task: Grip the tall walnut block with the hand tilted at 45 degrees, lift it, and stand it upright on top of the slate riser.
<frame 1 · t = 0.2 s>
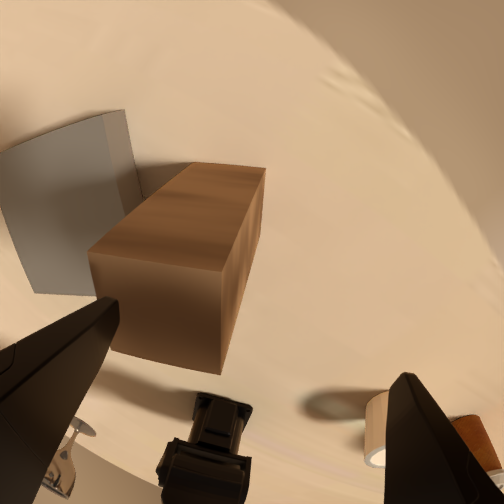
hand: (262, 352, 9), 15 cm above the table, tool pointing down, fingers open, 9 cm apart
slate riser: (75, 208, 25), on the table
wine glass: (80, 425, 48), on the table
walnut block: (227, 199, 23), on the table
disposable coffee cup: (459, 426, 33), on the table
tan cylindrical piece: (389, 402, 32), on the table
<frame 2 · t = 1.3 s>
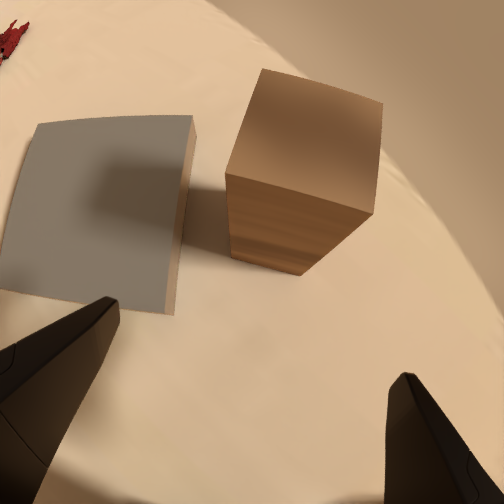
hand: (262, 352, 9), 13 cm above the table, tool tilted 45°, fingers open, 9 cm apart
slate riser: (98, 213, 23), on the table
walnut block: (274, 233, 23), on the table
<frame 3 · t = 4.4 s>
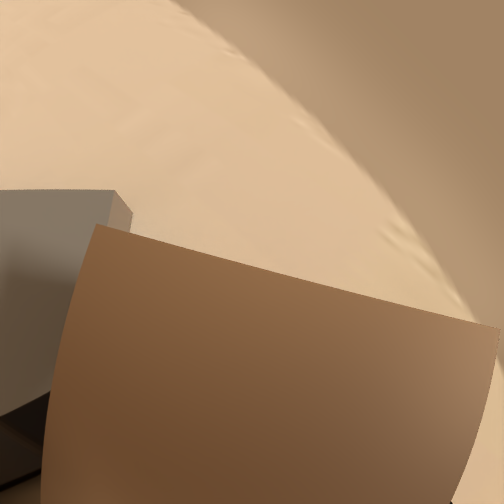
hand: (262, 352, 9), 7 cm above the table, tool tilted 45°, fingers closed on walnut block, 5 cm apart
slate riser: (15, 322, 15), on the table
walnut block: (243, 371, 15), on the table, touching gripper
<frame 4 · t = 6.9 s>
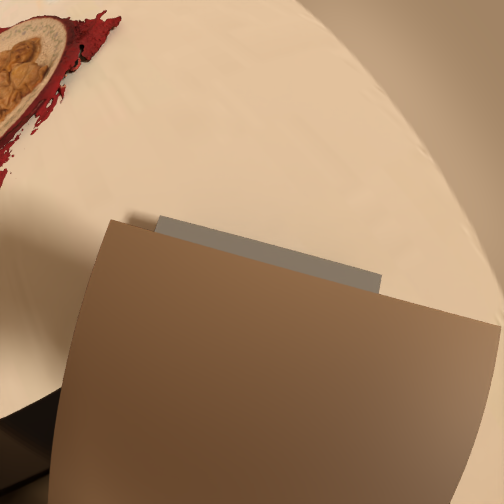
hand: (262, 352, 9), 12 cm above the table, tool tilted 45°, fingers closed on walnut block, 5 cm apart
slate riser: (241, 358, 20), on the table
walnut block: (245, 370, 15), point 5 cm above the table, touching gripper
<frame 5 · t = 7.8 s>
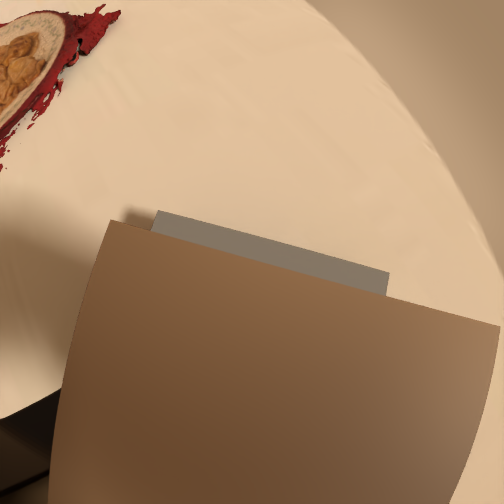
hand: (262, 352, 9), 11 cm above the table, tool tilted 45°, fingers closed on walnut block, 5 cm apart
slate riser: (242, 360, 19), on the table
walnut block: (245, 370, 15), point 4 cm above the table, touching gripper
when the fingers open (11 cm above the table, at t = 7.8 s): walnut block drops 1 cm, resting on slate riser.
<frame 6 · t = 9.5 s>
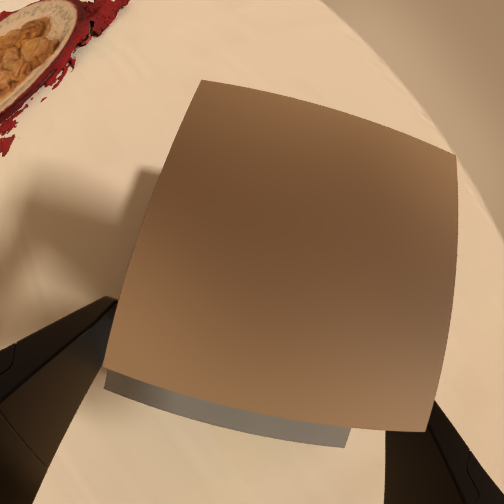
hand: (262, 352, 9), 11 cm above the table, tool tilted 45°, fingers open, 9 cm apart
slate riser: (253, 308, 20), on the table
plate with food: (2, 75, 25), on the table
walnut block: (257, 306, 17), point 3 cm above the table, touching slate riser
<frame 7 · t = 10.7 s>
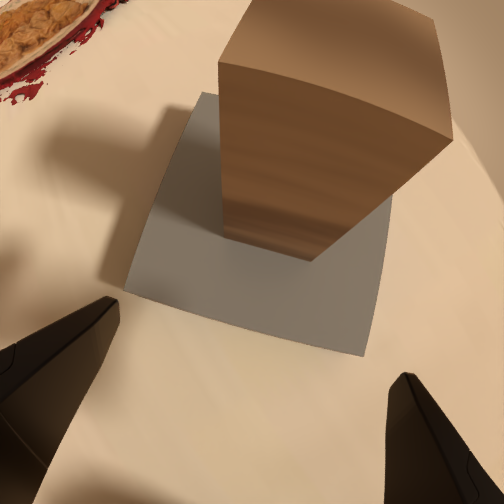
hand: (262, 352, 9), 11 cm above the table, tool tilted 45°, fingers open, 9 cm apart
slate riser: (271, 224, 22), on the table
plate with food: (28, 36, 26), on the table
walnut block: (278, 209, 19), point 3 cm above the table, touching slate riser
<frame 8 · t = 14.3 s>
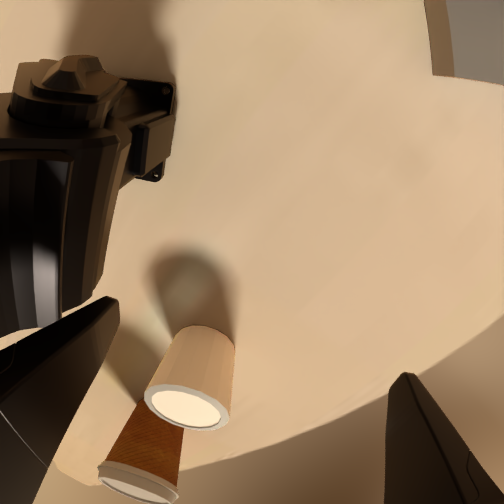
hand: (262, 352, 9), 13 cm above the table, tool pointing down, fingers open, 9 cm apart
disposable coffee cup: (161, 410, 36), on the table
tan cylindrical piece: (204, 346, 29), on the table
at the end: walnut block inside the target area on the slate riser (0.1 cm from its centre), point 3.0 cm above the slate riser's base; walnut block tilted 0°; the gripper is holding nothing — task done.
